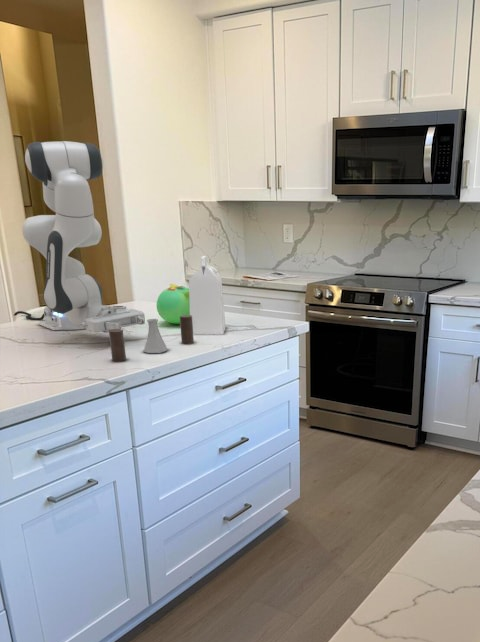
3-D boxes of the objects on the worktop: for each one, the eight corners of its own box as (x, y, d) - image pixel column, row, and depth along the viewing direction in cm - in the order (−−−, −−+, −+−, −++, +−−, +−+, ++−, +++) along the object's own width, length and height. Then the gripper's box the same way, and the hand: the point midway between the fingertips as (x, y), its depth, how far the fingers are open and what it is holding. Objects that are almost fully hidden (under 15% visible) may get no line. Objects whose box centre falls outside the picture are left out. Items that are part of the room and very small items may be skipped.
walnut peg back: (179, 343, 203) (177, 316, 199) (187, 340, 206) (186, 314, 202) (187, 344, 201) (185, 317, 197) (196, 342, 204) (194, 315, 200)
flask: (139, 353, 190) (136, 321, 186) (150, 347, 196) (147, 316, 193) (161, 354, 188) (158, 322, 185) (171, 349, 195) (168, 318, 191)
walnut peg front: (109, 360, 181) (105, 330, 178) (120, 357, 184) (116, 328, 181) (118, 362, 179) (114, 332, 176) (129, 359, 182) (125, 330, 179)
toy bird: (168, 318, 242) (165, 280, 236) (209, 319, 240) (207, 281, 234) (151, 327, 225) (147, 287, 220) (195, 329, 223) (192, 288, 218)
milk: (194, 327, 226) (189, 255, 217) (225, 327, 227) (221, 255, 218) (190, 334, 215) (184, 258, 206) (223, 334, 216) (219, 258, 206)
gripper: (75, 314, 193) (103, 319, 186) (127, 305, 209) (154, 309, 202) (78, 333, 195) (105, 339, 188) (129, 323, 211) (156, 328, 204)
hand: (131, 324), depth 195 cm, fingers open, 8 cm apart
